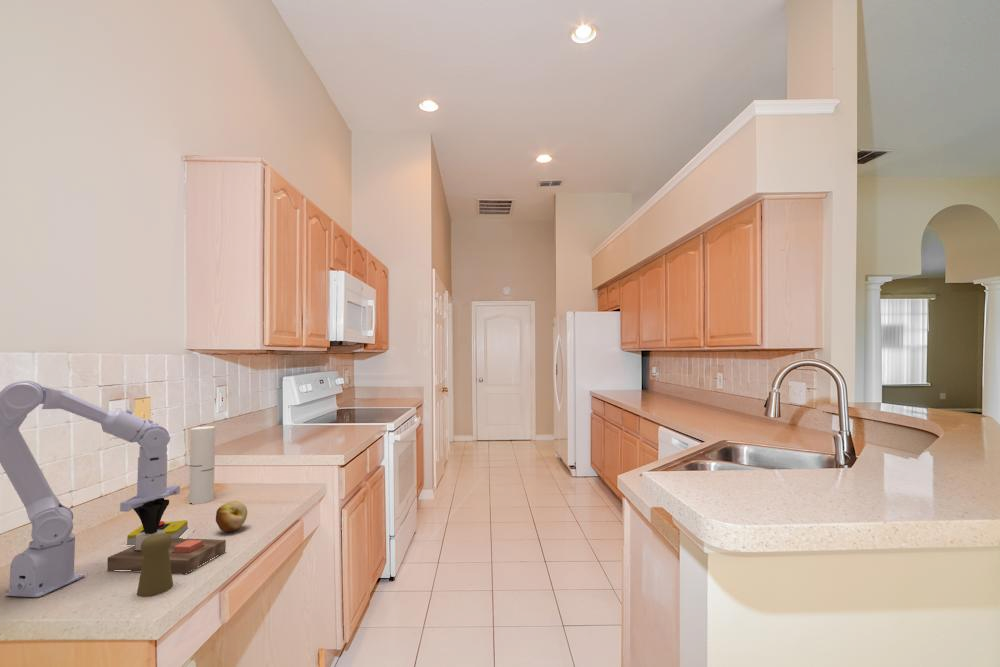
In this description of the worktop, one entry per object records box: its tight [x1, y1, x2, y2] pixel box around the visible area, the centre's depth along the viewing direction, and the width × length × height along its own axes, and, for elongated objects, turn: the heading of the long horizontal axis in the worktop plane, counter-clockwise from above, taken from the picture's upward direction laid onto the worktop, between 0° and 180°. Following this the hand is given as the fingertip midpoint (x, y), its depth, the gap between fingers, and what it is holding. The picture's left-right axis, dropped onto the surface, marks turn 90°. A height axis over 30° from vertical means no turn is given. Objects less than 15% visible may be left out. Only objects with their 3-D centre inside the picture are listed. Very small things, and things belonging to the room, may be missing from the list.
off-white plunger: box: [135, 530, 165, 550], centre depth 111 cm, size 4×4×3 cm
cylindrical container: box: [188, 425, 216, 505], centre depth 160 cm, size 7×7×25 cm
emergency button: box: [126, 519, 189, 545], centre depth 126 cm, size 9×4×15 cm
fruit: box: [215, 500, 248, 533], centre depth 130 cm, size 8×8×8 cm
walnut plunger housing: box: [106, 538, 227, 574], centre depth 110 cm, size 12×20×3 cm, turn 83°
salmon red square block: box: [174, 540, 203, 553], centre depth 109 cm, size 4×4×3 cm
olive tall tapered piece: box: [136, 533, 174, 598], centre depth 96 cm, size 6×6×11 cm
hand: (150, 532), depth 111 cm, fingers closed, pressing on off-white plunger
